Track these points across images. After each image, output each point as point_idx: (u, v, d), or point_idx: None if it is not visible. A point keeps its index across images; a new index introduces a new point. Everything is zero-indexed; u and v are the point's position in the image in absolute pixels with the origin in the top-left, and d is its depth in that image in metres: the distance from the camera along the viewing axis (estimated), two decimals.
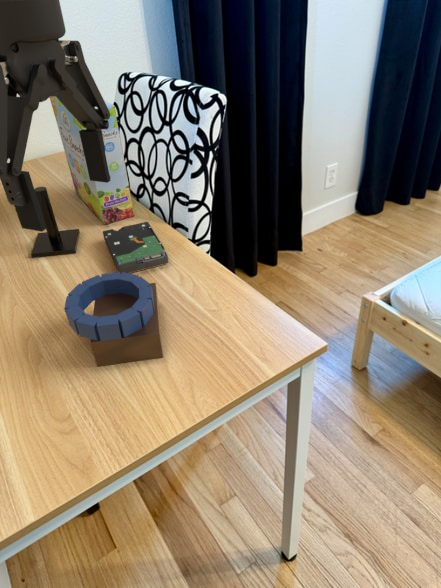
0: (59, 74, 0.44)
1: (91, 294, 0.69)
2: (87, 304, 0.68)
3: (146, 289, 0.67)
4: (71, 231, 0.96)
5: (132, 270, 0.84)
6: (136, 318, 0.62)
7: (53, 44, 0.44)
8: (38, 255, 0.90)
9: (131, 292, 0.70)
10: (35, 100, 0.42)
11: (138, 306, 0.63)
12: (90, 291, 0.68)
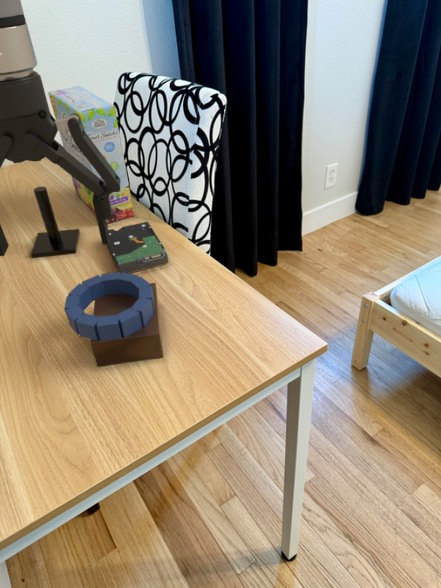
0: (30, 145, 0.49)
1: (91, 294, 0.69)
2: (87, 304, 0.68)
3: (146, 289, 0.67)
4: (71, 231, 0.96)
5: (132, 270, 0.84)
6: (136, 318, 0.62)
7: (35, 120, 0.48)
8: (38, 255, 0.90)
9: (131, 292, 0.70)
10: None
11: (138, 306, 0.63)
12: (90, 291, 0.68)
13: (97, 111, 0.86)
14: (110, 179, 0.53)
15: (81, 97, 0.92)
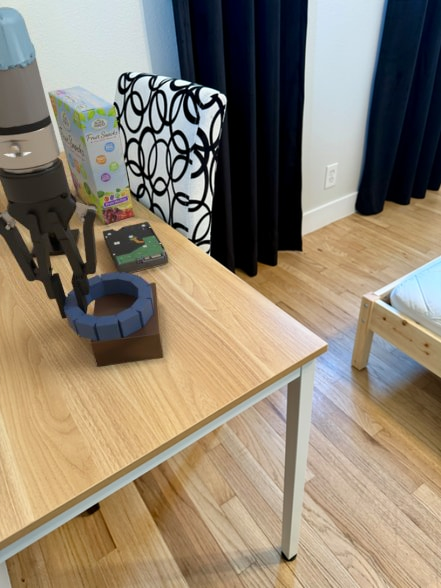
0: (48, 220, 0.54)
1: (91, 294, 0.69)
2: None
3: (145, 289, 0.66)
4: (71, 231, 0.96)
5: (132, 270, 0.84)
6: (135, 318, 0.62)
7: (57, 199, 0.54)
8: None
9: (130, 292, 0.70)
10: None
11: (137, 306, 0.63)
12: (89, 291, 0.68)
13: (97, 111, 0.86)
14: (91, 263, 0.60)
15: (81, 97, 0.92)
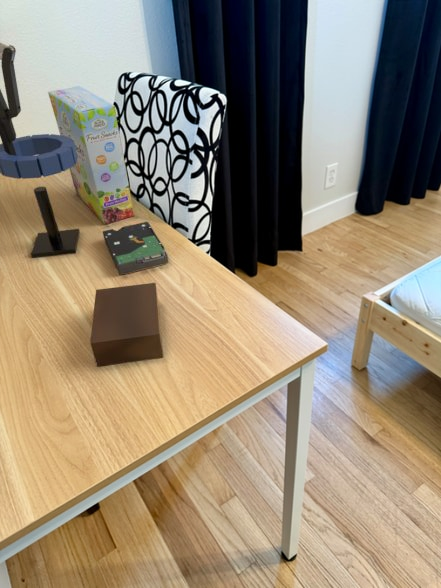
0: None
1: (21, 150, 0.76)
2: None
3: (68, 142, 0.74)
4: (71, 231, 0.96)
5: (132, 270, 0.84)
6: (54, 159, 0.70)
7: None
8: (38, 255, 0.90)
9: None
10: None
11: (57, 151, 0.71)
12: (19, 147, 0.76)
13: (97, 111, 0.86)
14: (13, 105, 0.67)
15: (81, 97, 0.92)
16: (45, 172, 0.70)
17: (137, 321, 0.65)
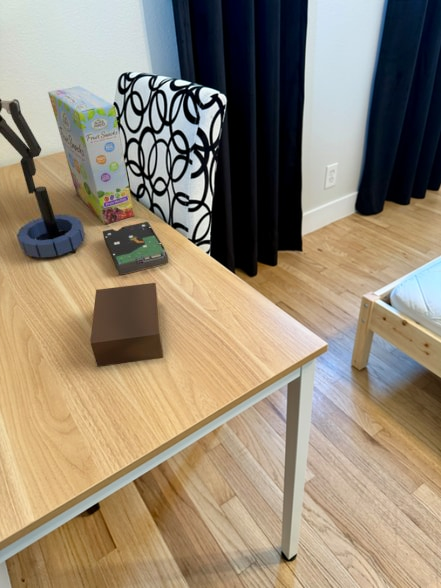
0: None
1: (39, 229, 0.94)
2: (36, 236, 0.94)
3: (77, 224, 0.92)
4: None
5: (132, 270, 0.84)
6: (66, 242, 0.88)
7: None
8: None
9: (68, 229, 0.96)
10: None
11: (69, 234, 0.89)
12: (38, 227, 0.94)
13: (97, 111, 0.86)
14: (33, 147, 0.80)
15: (81, 97, 0.92)
16: (59, 252, 0.88)
17: (137, 321, 0.65)
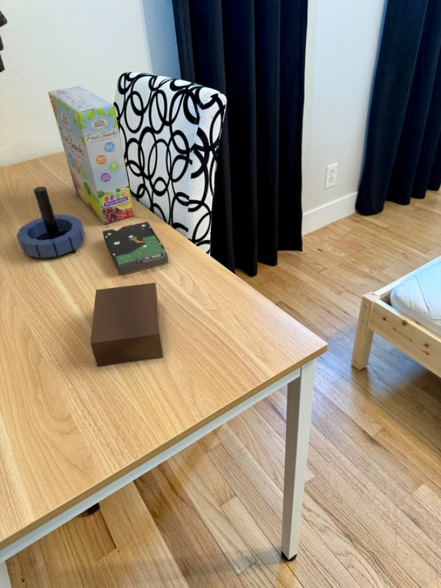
0: None
1: (39, 229, 0.94)
2: (36, 236, 0.94)
3: (77, 224, 0.92)
4: None
5: (132, 270, 0.84)
6: (66, 242, 0.88)
7: None
8: None
9: (68, 229, 0.96)
10: None
11: (69, 234, 0.89)
12: (38, 227, 0.94)
13: (97, 111, 0.86)
14: None
15: (81, 97, 0.92)
16: (59, 252, 0.88)
17: (137, 321, 0.65)
